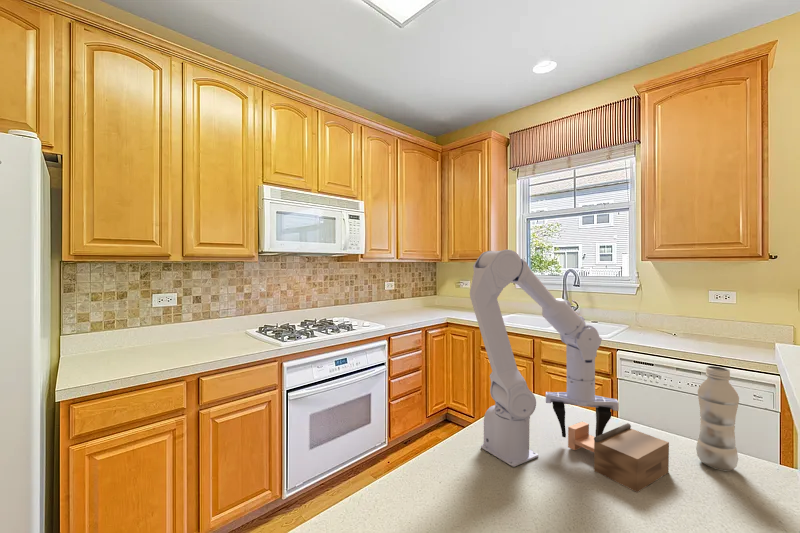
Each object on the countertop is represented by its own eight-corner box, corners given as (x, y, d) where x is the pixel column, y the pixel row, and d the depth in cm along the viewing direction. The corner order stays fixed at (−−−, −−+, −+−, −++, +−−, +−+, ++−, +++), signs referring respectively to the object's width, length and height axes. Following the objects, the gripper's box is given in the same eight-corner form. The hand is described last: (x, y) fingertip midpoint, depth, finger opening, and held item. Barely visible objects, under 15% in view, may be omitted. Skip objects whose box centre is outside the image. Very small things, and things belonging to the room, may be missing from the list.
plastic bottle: (720, 458, 79) (722, 364, 78) (747, 476, 72) (749, 373, 72) (688, 456, 79) (689, 363, 79) (711, 474, 72) (713, 372, 72)
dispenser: (593, 470, 74) (593, 436, 74) (625, 454, 80) (626, 422, 80) (637, 492, 67) (637, 454, 67) (668, 472, 73) (668, 437, 73)
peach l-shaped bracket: (568, 447, 82) (568, 426, 82) (582, 441, 85) (582, 421, 85) (634, 478, 71) (634, 454, 70) (647, 470, 73) (648, 447, 73)
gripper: (546, 379, 81) (546, 440, 82) (621, 386, 76) (621, 451, 77) (545, 370, 88) (545, 427, 88) (614, 376, 83) (615, 436, 83)
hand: (580, 437), depth 83 cm, fingers open, 6 cm apart
